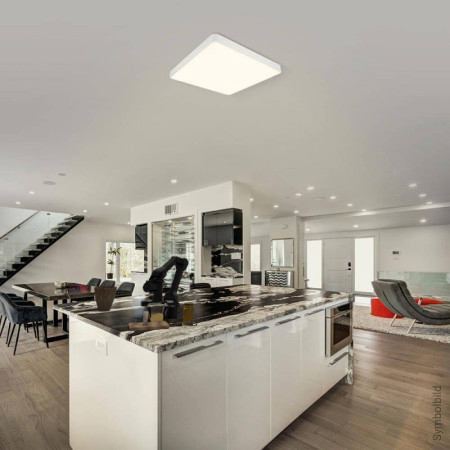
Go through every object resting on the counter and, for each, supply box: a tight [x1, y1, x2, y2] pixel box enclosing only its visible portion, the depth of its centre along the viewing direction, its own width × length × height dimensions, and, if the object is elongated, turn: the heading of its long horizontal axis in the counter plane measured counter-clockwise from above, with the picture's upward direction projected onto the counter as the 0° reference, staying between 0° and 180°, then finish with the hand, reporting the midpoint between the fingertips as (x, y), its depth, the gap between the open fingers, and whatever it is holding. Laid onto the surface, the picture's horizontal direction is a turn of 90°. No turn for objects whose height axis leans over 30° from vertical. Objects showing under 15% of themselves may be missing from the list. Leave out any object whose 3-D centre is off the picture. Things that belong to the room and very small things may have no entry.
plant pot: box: [93, 285, 118, 312], centre depth 206 cm, size 15×15×16 cm
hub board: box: [128, 310, 170, 332], centre depth 162 cm, size 20×12×8 cm, turn 111°
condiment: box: [181, 302, 195, 327], centre depth 171 cm, size 7×8×12 cm
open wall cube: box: [149, 312, 164, 322], centre depth 176 cm, size 7×7×4 cm
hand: (156, 317), depth 175 cm, fingers closed on open wall cube, 7 cm apart
